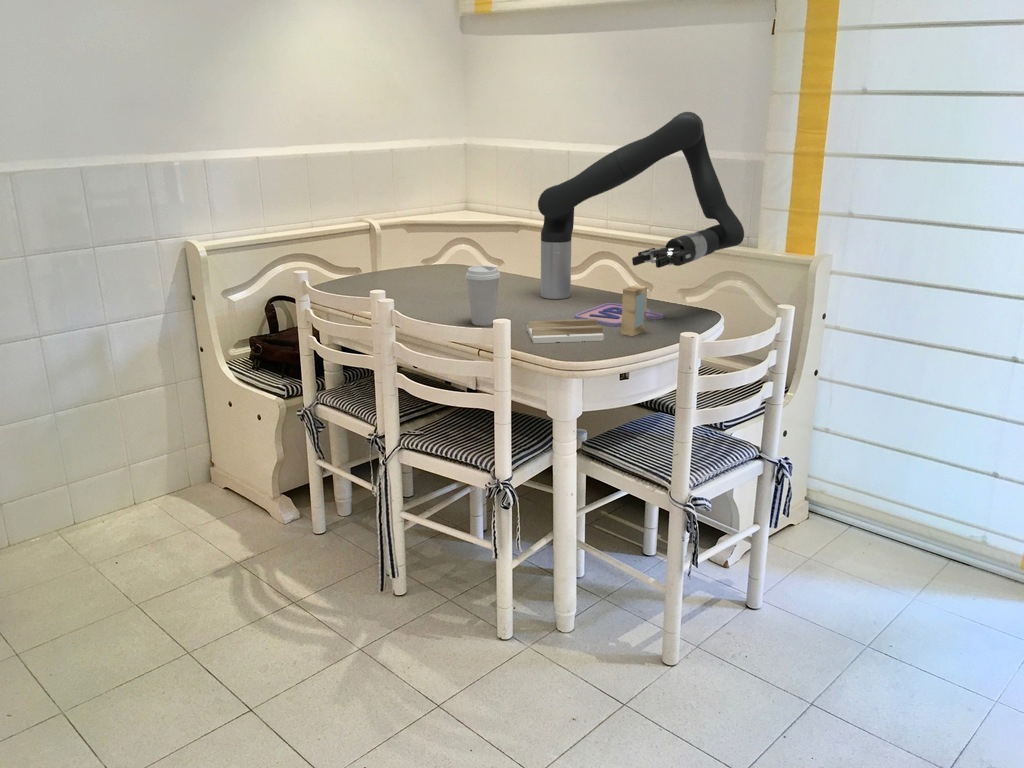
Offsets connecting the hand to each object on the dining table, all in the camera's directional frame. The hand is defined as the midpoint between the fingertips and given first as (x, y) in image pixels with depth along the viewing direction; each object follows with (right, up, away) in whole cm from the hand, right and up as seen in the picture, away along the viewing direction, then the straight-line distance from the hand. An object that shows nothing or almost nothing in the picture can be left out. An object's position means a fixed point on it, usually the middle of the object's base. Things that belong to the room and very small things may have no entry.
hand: (644, 262), depth 217 cm
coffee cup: (-43, -15, +10) cm, 46 cm away
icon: (-5, -14, +14) cm, 20 cm away
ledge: (-21, -19, -2) cm, 29 cm away
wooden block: (-3, -18, 0) cm, 19 cm away
